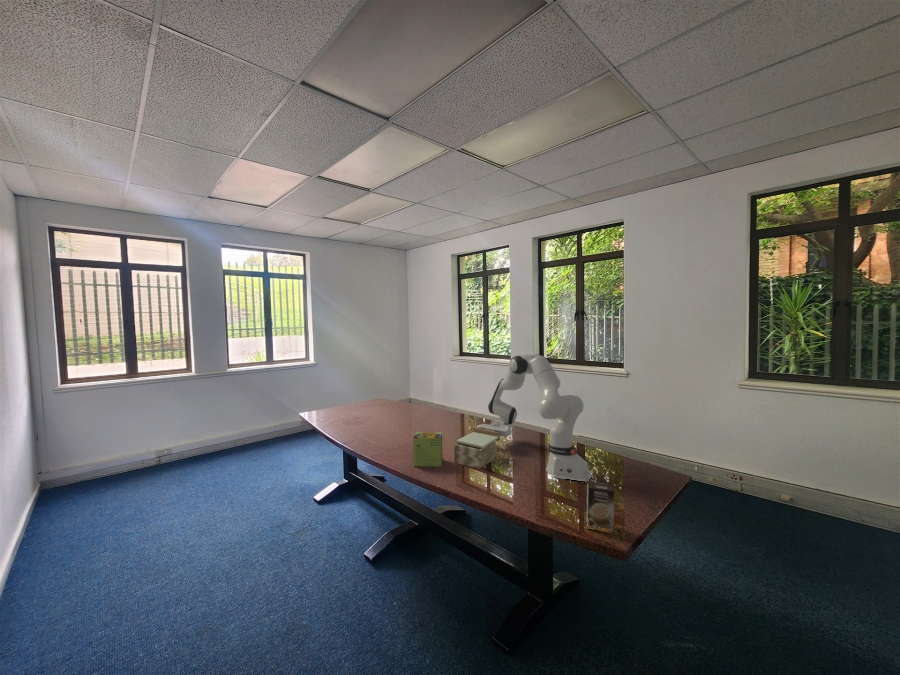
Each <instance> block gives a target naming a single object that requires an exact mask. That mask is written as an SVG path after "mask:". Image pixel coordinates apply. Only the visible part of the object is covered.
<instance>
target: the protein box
mask: <svg viewBox="0 0 900 675" xmlns="http://www.w3.org/2000/svg"><path fill="white" fill-rule="evenodd" d="M412 439H413V440H412V441H413V442H412V445H413V447H412V450H413V451H412V453H413V454H412V460H413V461H412V463H413V464H412V465H413V467H442V464H443V432H441V431H439V432H436V431H434V432H432V431H427V432H425V431H424V432H423V431H422V432H421V431H417V432H415V433H414V435H413V437H412Z"/></svg>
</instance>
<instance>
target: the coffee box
mask: <svg viewBox="0 0 900 675" xmlns="http://www.w3.org/2000/svg"><path fill="white" fill-rule="evenodd" d="M586 487H587V488H586V489H587V490H586V517H585V518H586V519H585V520H586V521H585V522H587V525H586V527H587V526H589V527H600V528H606V529H612V530H613V531H614V521H615V520H614V519H615V518H614V515H615V513H614V512H615V487H614V486H613V484H612V483H606V482H601V481H599V482H598V481H592V480H590V481H588V482H587V486H586Z"/></svg>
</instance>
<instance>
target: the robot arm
mask: <svg viewBox="0 0 900 675" xmlns="http://www.w3.org/2000/svg"><path fill="white" fill-rule="evenodd" d="M531 374H532V375H533V377H534V380H535V383H537V386H538V388H539V390H540V393H541V398H540V401H539V404H538V407H537V408H538V412H539V415H540V416H541V417H542V418H543V419H545V420H555V422H553V424H552V425H551V426H550V429H549V442H548V448H547V450H548V459H547V465H546V468H545V471H546V472H547V473H548V474H549V475H551V476H552V478H554V479H558V478H559V479H558V480H565V479H570V480H569V481H571V480H577V481H587V480H589V479H590V478H591V477H592V475H593V476H594V474H593V471H592V470H589V467H588V463H587V461H586V460H585V459H584V458H582V457H581V456H580V455H579V454H578V453H577V446H574V445H573V436H574V435H573V434H574V433H573V430H574V428H575V424H576V421H577V419H578V417H579V415H580V414H582V412H583V410H584V408H585V407H584V402H583V400H582V398H581V397H579V396H578V395H574V394H566V395H560V394H559V391H558V390H559V388H560V387H561V380H560V378H559V377H558V375H557V373H556V371H555V369H554V368H553V365H552V364H551V363H550V362H549V360H548V359H547V358H546V357H545V356H544V355H542V354H521V355H516V356H513V357H512V358H510V360H509V365H508V368H507V372H506V375H505V377H504V378H501V379H500V381H498V383H497V385H496V388H495V390H494V392H493V396H492V397H491V400H490V401H489V402H488V405H487V406H488V407H487V408H488V411H489V413H490V414H492V415H494V416H496V417H499V418H498V419H496V420H494V421H492V422H491V423H490V424H488V423H482V424H479V425H477V426H476V428H479V429H484V430H490V431H495V432H500V437H503V438H508V437H509V436H511V433H512V432H511V430H512V429H511V428H512V427H513V425H514V423H515V421H516V420H517V415H518V412H517V409H516V407H514V406H513V405H511V404H509V403H506V402H505V401H502V400H501V397H502V394H503V392H504V391H517V390H519V389H520V388H522V387H523V385H524V382H525V378H526V376H527V375H531ZM590 472H591V473H592V474H590ZM592 478H593V477H592ZM577 481H576V482H577Z"/></svg>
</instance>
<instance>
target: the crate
mask: <svg viewBox="0 0 900 675" xmlns="http://www.w3.org/2000/svg"><path fill="white" fill-rule="evenodd" d="M496 442H497V441H494V442H493V443H491V444H489V445H488V446H486V447H485V448H478V447H473V446H469V445H464V444H460V443H455V444H454V446H453V447H454V457H453V458H454V460H453V461H454V463H455V464H459V465H462V466H467V467H471V468H475V469H478V470H482V469H483V467H485V466H487V465H488V464H489V463H491V462H493V461H494V460H495V459H496V456H497V454H496V452H497V450H496V444H497V443H496Z"/></svg>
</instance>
